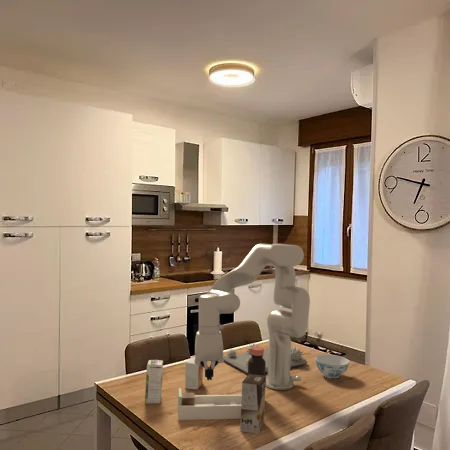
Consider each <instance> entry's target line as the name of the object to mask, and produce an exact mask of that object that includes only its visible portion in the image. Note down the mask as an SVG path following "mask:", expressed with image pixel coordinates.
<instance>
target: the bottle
mask: <svg viewBox="0 0 450 450" xmlns="http://www.w3.org/2000/svg"><path fill="white" fill-rule="evenodd" d="M250 348H251V347H250ZM264 349H265V348H263V347H261V346H258V347H252V348H251V356H252V357H251V358H250V359H249V360H248V374H253V375H254V374H255V375H262V376H266V373H265V366H266V362H265V360H264V359H263V354H264ZM248 374H247V375H248Z"/></svg>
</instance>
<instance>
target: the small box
mask: <svg viewBox="0 0 450 450" xmlns="http://www.w3.org/2000/svg"><path fill="white" fill-rule="evenodd" d="M194 361H195V357H190V358H189V359H188V360H187V361H186V362H185V373H184V374H185V375H184V377H185V378H184V379H185V381H184V388H185V389H190V390H196V391H197V390H199V388H201V386H202V384H203V375H204V367H203V366H202V365H199V364H195V362H194Z"/></svg>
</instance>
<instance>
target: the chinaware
mask: <svg viewBox="0 0 450 450" xmlns="http://www.w3.org/2000/svg"><path fill="white" fill-rule="evenodd" d="M314 359H315V360H314V361H315V363H316V367H317V369H318V370H319V371H320V373H321V374H323V377H324V376H325V378H326V377H328V378H327V379H329V378H338V379H339V378H340V376H342V375H344V373H346V372H347V369H348V367H349V364H350V361H349V359H347V358H346V357H344V356H341V355H336V354H319V355H316V356H315V358H314Z"/></svg>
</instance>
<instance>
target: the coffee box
mask: <svg viewBox="0 0 450 450" xmlns="http://www.w3.org/2000/svg"><path fill="white" fill-rule="evenodd" d="M266 378H267V376H266V375H265V376H262V375H255V374H254V375H253V374H247V376H246V377H245V378H244V379H243V380H242V382H241V383H242V385H241V395H242V402H241V419H240V428H239V430H240V432H245V433H250V434H257V435H258V434H259V433H260V431H261V429H262V427H263V425H264V423H265V412H266V411H265V409H266V408H265V406H266V387H267V386H266Z"/></svg>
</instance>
